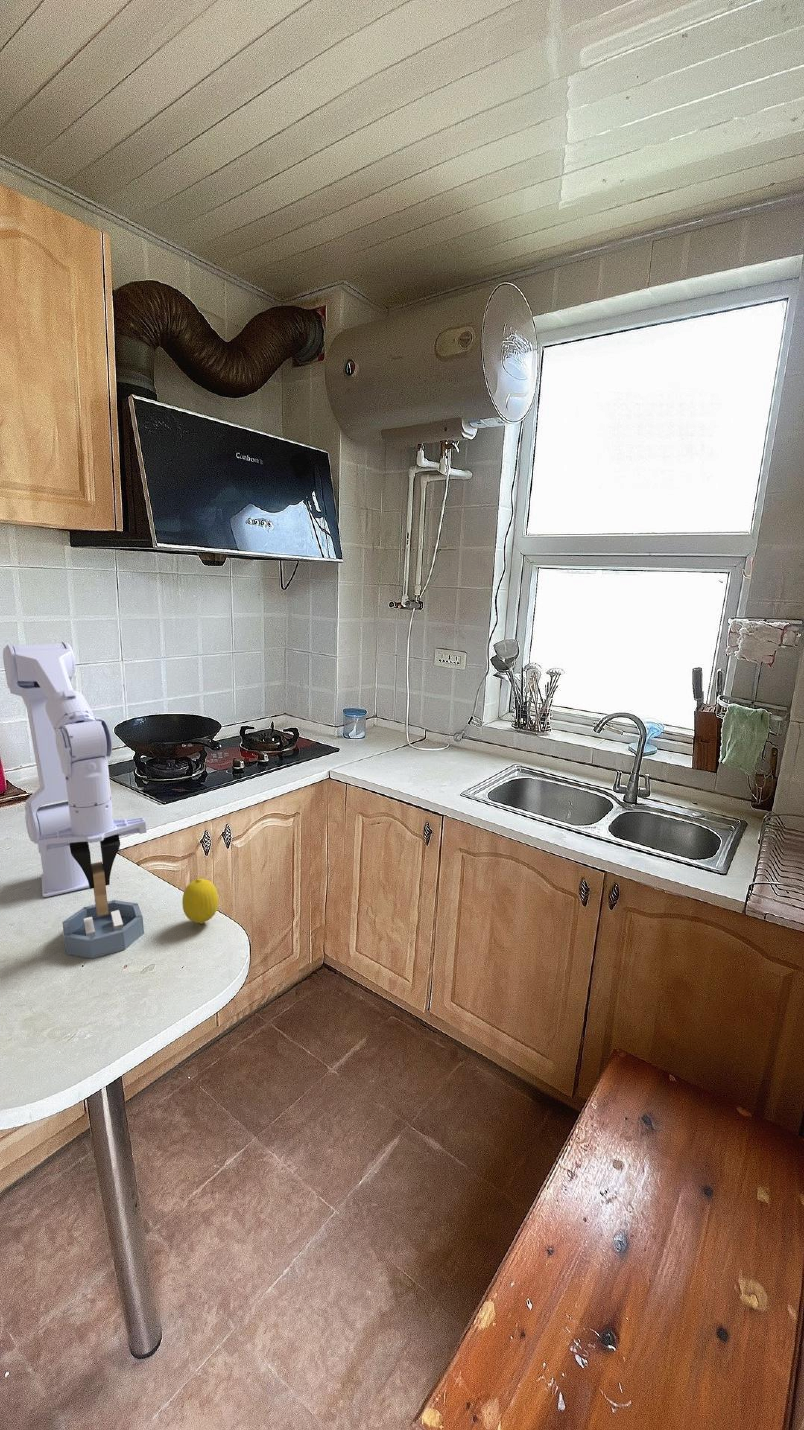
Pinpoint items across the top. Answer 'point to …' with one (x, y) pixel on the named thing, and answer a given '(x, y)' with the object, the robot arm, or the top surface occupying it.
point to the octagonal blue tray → (103, 929)
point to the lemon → (200, 900)
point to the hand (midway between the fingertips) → (99, 884)
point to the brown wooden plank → (99, 889)
